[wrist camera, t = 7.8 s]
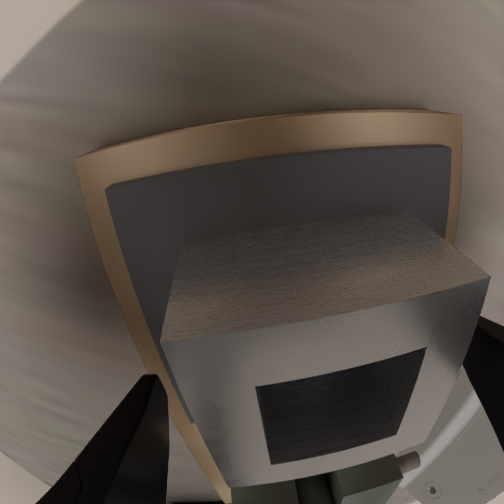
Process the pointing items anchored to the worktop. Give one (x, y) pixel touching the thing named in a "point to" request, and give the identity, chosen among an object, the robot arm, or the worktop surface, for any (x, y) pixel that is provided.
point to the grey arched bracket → (458, 454)
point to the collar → (319, 341)
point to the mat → (266, 206)
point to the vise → (238, 148)
